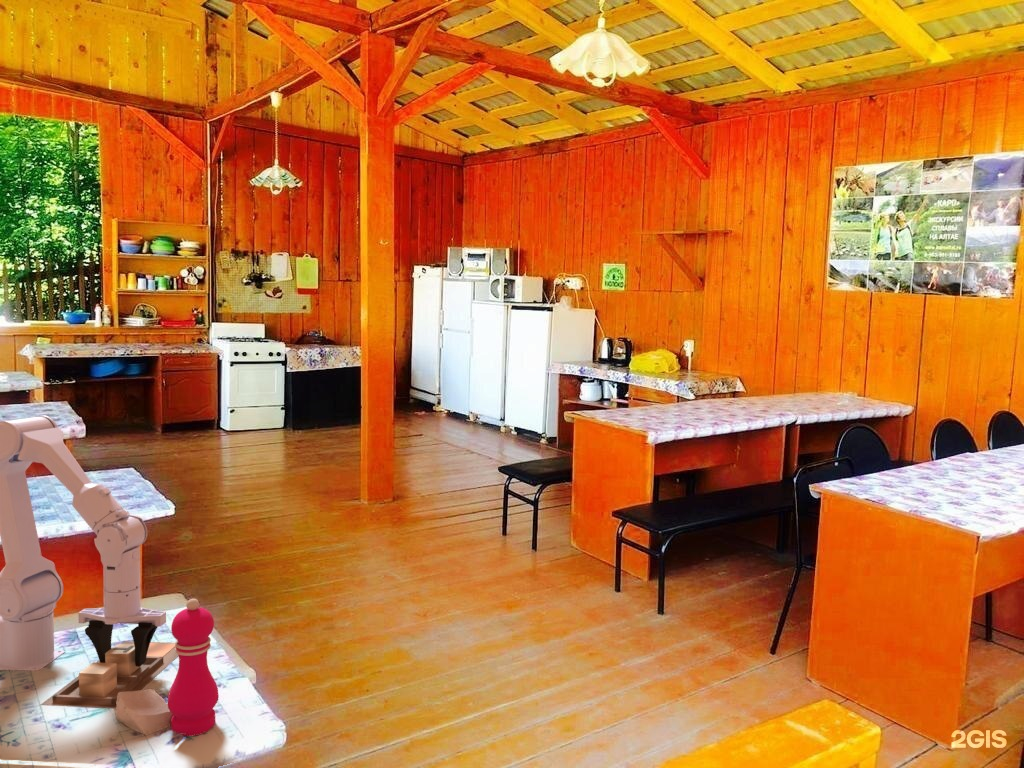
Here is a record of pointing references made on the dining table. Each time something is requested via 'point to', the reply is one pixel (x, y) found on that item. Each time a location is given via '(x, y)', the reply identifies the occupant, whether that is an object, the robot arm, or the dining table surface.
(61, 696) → the organiser
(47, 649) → the robot arm
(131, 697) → the tan faceted block
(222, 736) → the dining table surface
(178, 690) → the pepper mill
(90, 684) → the blank cube
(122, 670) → the letter cube
